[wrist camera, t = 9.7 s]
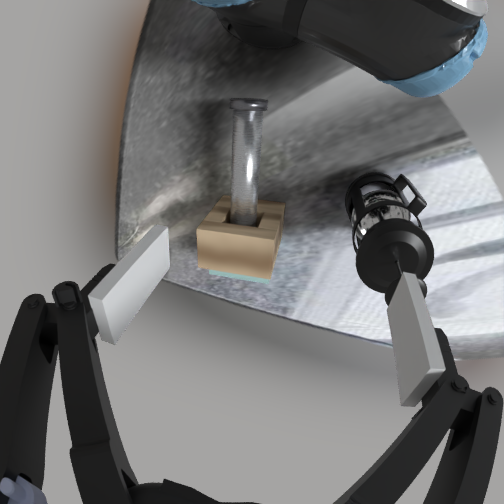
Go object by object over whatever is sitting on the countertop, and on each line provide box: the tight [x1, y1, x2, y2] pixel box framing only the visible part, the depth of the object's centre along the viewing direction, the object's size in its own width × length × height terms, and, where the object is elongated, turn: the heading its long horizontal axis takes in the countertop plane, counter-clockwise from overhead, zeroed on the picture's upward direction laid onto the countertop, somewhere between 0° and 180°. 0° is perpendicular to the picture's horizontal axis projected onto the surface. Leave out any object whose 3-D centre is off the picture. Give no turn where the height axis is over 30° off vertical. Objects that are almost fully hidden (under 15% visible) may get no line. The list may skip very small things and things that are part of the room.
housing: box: [197, 195, 285, 279], centre depth 45 cm, size 6×10×12 cm, turn 87°
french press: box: [345, 173, 434, 306], centre depth 35 cm, size 12×9×23 cm
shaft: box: [230, 98, 268, 227], centre depth 40 cm, size 21×5×5 cm, turn 177°
